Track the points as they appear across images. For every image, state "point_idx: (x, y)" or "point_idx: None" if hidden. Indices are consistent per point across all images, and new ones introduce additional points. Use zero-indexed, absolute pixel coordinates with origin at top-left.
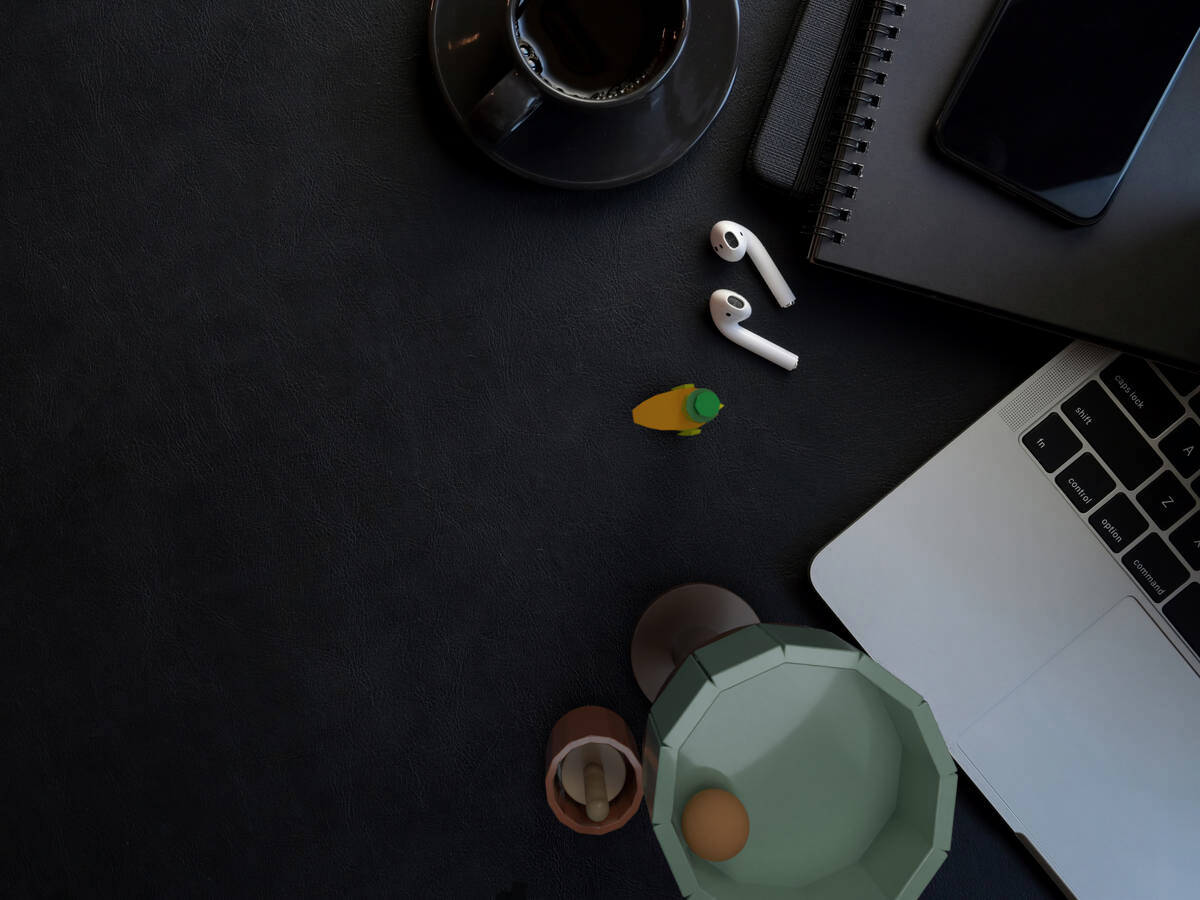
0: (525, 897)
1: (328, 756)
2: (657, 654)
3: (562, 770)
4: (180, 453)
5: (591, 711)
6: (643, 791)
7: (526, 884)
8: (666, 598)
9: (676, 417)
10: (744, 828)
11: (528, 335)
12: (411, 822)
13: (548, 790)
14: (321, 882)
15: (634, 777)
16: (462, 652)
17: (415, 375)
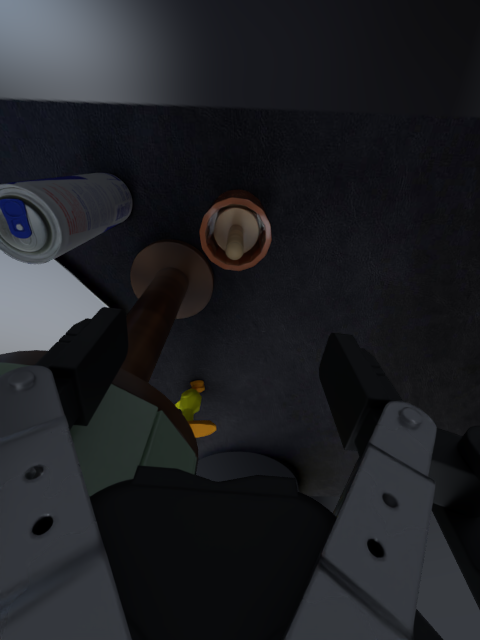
0: (329, 404)
1: (406, 220)
2: (197, 282)
3: (257, 234)
4: (434, 374)
5: None
6: (193, 467)
7: (321, 383)
8: (194, 312)
9: (193, 428)
10: None
11: (263, 412)
12: (362, 170)
13: (269, 233)
14: (439, 123)
15: (207, 227)
16: (311, 281)
17: (316, 400)
